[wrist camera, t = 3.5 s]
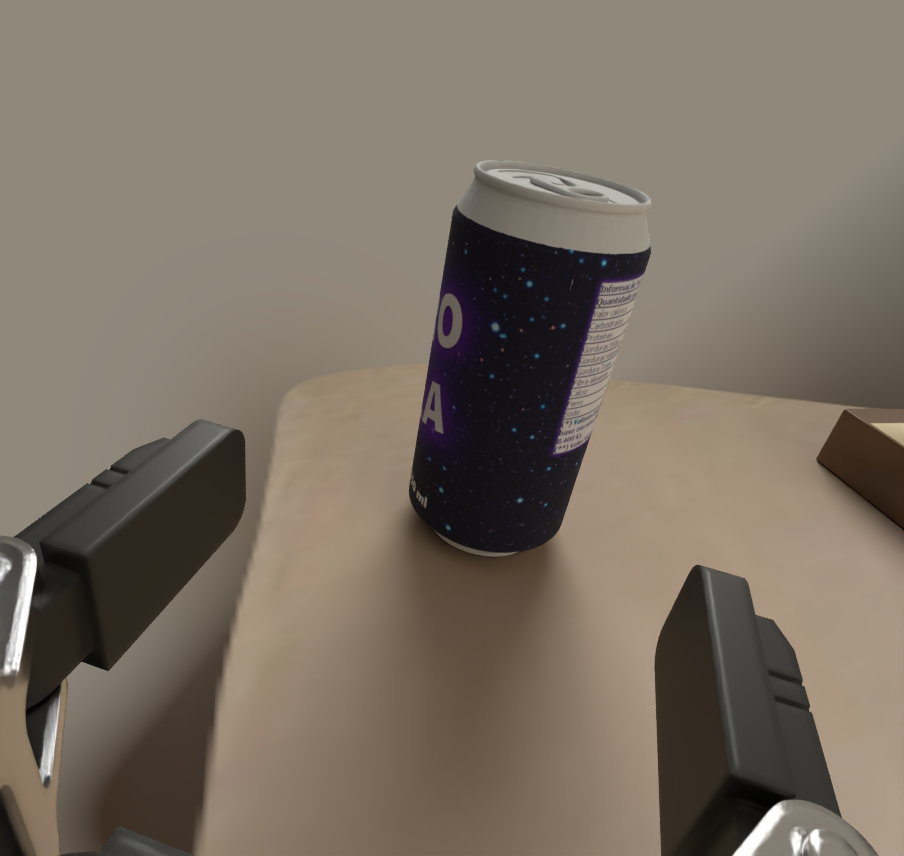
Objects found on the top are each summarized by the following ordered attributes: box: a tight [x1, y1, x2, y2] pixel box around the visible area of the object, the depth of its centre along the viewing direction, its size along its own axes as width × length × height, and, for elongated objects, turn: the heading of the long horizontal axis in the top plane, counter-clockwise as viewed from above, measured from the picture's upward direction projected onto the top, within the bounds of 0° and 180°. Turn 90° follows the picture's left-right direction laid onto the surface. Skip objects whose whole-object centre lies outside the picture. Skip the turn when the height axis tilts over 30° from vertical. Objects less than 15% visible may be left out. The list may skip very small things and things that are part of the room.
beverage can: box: [409, 160, 652, 557], centre depth 20 cm, size 6×6×12 cm
